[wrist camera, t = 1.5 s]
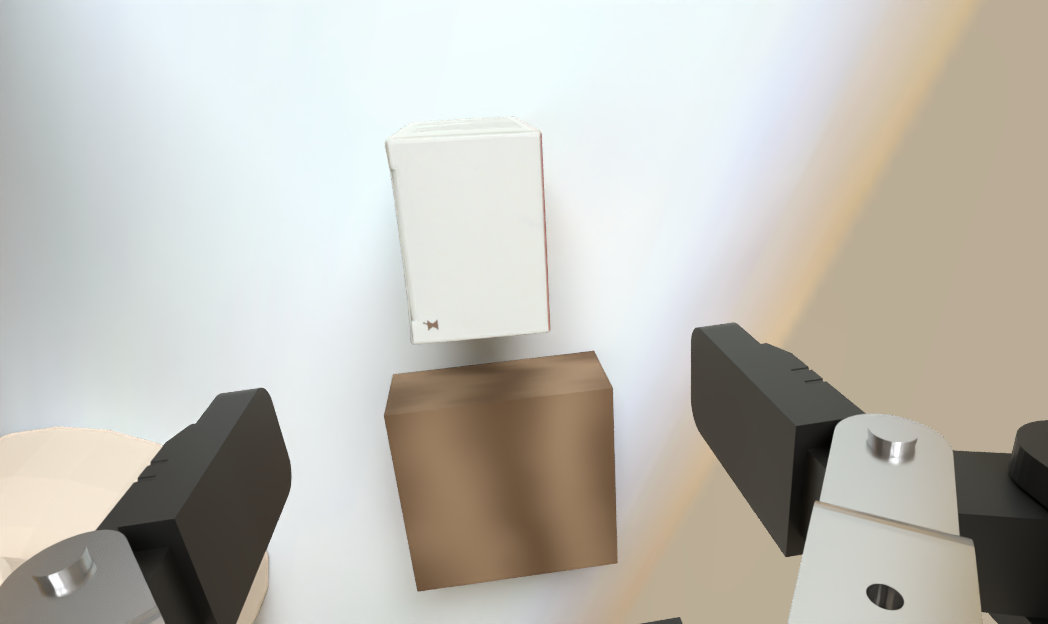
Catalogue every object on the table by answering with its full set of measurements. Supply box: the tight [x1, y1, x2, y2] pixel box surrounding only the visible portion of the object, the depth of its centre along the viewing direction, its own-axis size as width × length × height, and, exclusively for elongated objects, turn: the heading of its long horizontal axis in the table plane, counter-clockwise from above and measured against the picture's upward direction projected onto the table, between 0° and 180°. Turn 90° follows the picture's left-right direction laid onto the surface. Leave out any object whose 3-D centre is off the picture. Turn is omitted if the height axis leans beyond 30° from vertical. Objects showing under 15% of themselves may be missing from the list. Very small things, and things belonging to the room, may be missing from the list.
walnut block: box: [384, 351, 617, 591], centre depth 36 cm, size 12×12×5 cm
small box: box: [385, 116, 550, 345], centre depth 27 cm, size 8×6×10 cm
